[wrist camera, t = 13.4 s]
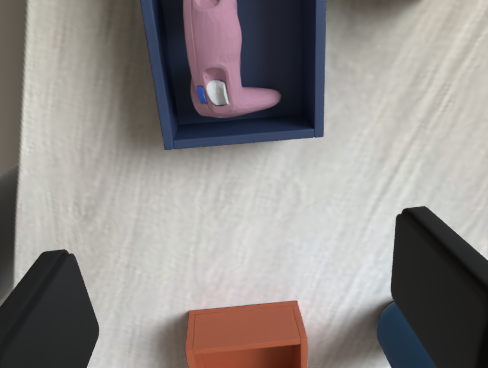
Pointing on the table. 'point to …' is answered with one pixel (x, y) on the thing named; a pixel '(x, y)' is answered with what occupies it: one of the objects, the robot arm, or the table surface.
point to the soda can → (400, 341)
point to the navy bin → (243, 73)
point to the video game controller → (219, 61)
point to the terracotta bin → (247, 337)
